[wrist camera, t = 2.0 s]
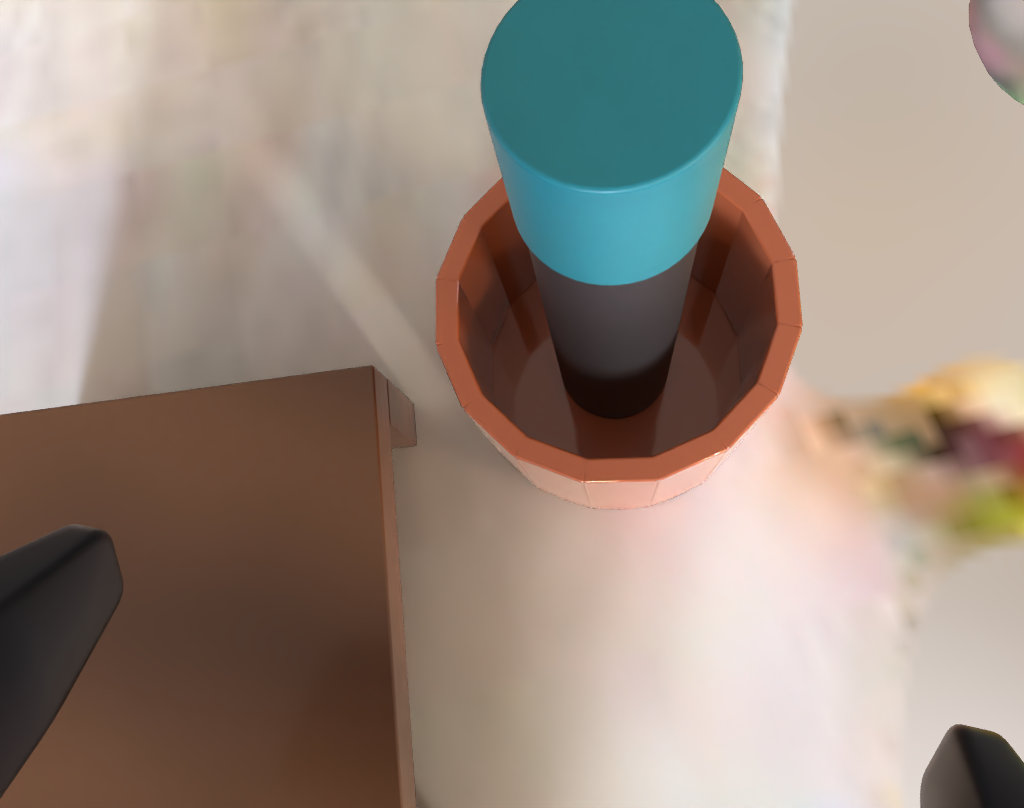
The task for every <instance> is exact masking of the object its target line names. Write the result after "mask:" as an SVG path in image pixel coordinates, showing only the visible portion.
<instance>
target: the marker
mask: <svg viewBox="0 0 1024 808" xmlns="http://www.w3.org/2000/svg"><path fill="white" fill-rule="evenodd" d="M742 81H743V62H742V56H741V50H740V46H739V43H738V40H737V37H736V34H735V32H734V30H733V27H732V25H731V23H730V21H729V19H728V18H727V16H726V15H725V13H724V12H723V10H722V9H721V8H720V6H719V5H718V4H717V3H716V2H715V1H714V0H518V1H517V2H516V3H515V4H514V5H513V7H512V8H511V9H510V10H509V11H508V12H507V13H506V15H505V16H504V18H503V19H502V21H501V22H500V23H499V25H498V26H497V28H496V30H495V32H494V34H493V36H492V38H491V40H490V42H489V45H488V48H487V51H486V54H485V57H484V61H483V66H482V72H481V97H482V104H483V108H484V112H485V116H486V120H487V124H488V127H489V131H490V134H491V138H492V142H493V145H494V149H495V152H496V156H497V160H498V163H499V167H500V171H501V174H502V178H503V181H504V185H505V189H506V192H507V196H508V199H509V203H510V207H511V210H512V214H513V217H514V221H515V223H516V226H517V229H518V231H519V233H520V235H521V237H522V238H523V240H524V242H525V243H526V245H527V246H528V248H529V252H530V256H531V260H532V264H533V268H534V272H535V276H536V279H537V283H538V287H539V291H540V295H541V299H542V303H543V306H544V310H545V314H546V318H547V322H548V326H549V330H550V334H551V337H552V341H553V345H554V349H555V353H556V357H557V361H558V365H559V368H560V372H561V376H562V380H563V383H564V386H565V388H566V390H567V392H568V394H569V395H570V396H571V398H572V399H573V400H574V401H575V402H576V403H577V404H578V405H579V406H580V407H581V408H583V409H584V410H586V411H588V412H589V413H592V414H594V415H597V416H600V417H605V418H624V417H629V416H632V415H635V414H637V413H639V412H641V411H643V410H645V409H646V408H647V407H649V406H650V405H651V404H652V403H653V402H654V401H655V400H656V399H657V398H658V397H659V395H660V393H661V392H662V390H663V388H664V386H665V384H666V380H667V377H668V372H669V368H670V364H671V359H672V355H673V350H674V346H675V341H676V337H677V333H678V328H679V324H680V319H681V315H682V311H683V306H684V302H685V297H686V293H687V288H688V284H689V280H690V275H691V271H692V266H693V262H694V257H695V253H696V249H697V244H698V240H699V238H700V237H701V235H702V234H703V232H704V230H705V228H706V226H707V224H708V221H709V219H710V216H711V212H712V209H713V205H714V201H715V197H716V193H717V189H718V185H719V181H720V177H721V173H722V169H723V165H724V160H725V156H726V152H727V148H728V144H729V140H730V136H731V132H732V128H733V124H734V120H735V116H736V111H737V107H738V103H739V99H740V95H741V88H742Z"/></svg>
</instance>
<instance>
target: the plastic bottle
mask: <svg viewBox="0 0 1024 808" xmlns="http://www.w3.org/2000/svg"><path fill="white" fill-rule="evenodd" d="M969 27H970V31H971V34H972V38H973V42H974V45H975V48H976V50H977V52H978V54H979V56H980V58H981V60H982V62H983V64H984V66H985V68H986V70H987V72H988V73H989V75H990V76H991V77H992V78H993V79H994V81H995V82H996V83H997V84H998V85H999V87H1000V88H1001V89H1003V90H1004V91H1005V92H1006V93H1008V94H1009V95H1010V96H1011V97H1013V98H1014V99H1015V100H1016V101H1018V102H1020V103H1022V104H1024V0H970V3H969Z"/></svg>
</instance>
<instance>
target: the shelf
mask: <svg viewBox="0 0 1024 808" xmlns="http://www.w3.org/2000/svg"><path fill="white" fill-rule="evenodd" d="M416 444H417V440H416V427H415V414H414V404H413V403H412V402H411V401H410V400H409V399H408V398H407V397H406V396H405V395H404V394H403V393H402V392H401V391H400V390H399V389H398V388H396V387H395V386H394V385H393V384H392V383H391V382H390V381H389V380H388V379H386V377H385V376H383V375H382V374H381V373H380V372H379V371H378V370H377V369H376V368H375V367H374V366H372V365H370V366H363V367H355V368H348V369H340V370H333V371H325V372H318V373H310V374H302V375H295V376H287V377H280V378H272V379H265V380H257V381H250V382H242V383H235V384H227V385H220V386H212V387H205V388H197V389H190V390H182V391H175V392H167V393H160V394H152V395H145V396H137V397H130V398H122V399H115V400H107V401H100V402H92V403H85V404H77V405H70V406H62V407H55V408H47V409H40V410H32V411H25V412H17V413H10V414H2V415H0V556H2V555H4V554H6V553H8V552H10V551H13V550H15V549H17V548H19V547H21V546H23V545H26V544H28V543H30V542H32V541H34V540H36V539H39V538H41V537H43V536H45V535H47V534H49V533H52V532H54V531H56V530H58V529H60V528H62V527H65V526H68V525H72V524H79V525H84V526H89V527H93V528H97V529H102V530H104V531H106V532H107V533H108V534H109V535H110V536H111V538H112V540H113V544H114V548H115V551H116V555H117V559H118V562H119V566H120V570H121V574H122V577H123V593H122V597H121V600H120V602H119V604H118V606H117V608H116V610H115V612H114V614H113V615H112V617H111V619H110V621H109V623H108V624H107V626H106V628H105V630H104V632H103V633H102V635H101V637H100V639H99V641H98V642H97V644H96V646H95V648H94V650H93V651H92V653H91V655H90V657H89V659H88V660H87V662H86V664H85V666H84V668H83V670H82V671H81V673H80V675H79V677H78V679H77V680H76V682H75V684H74V686H73V688H72V689H71V691H70V693H69V695H68V697H67V698H66V700H65V702H64V704H63V705H62V707H61V709H60V710H59V712H58V714H57V716H56V717H55V719H54V721H53V722H52V724H51V725H50V727H49V728H48V730H47V731H46V733H45V734H44V736H43V738H42V739H41V741H40V742H39V744H38V745H37V746H36V748H35V749H34V751H33V752H32V754H31V755H30V757H29V758H28V760H27V761H26V762H25V764H24V765H23V767H22V768H21V770H20V771H19V773H18V774H17V775H16V777H15V778H14V780H13V781H12V783H11V784H10V786H9V787H8V789H7V790H6V791H5V793H4V794H3V796H2V797H1V799H0V808H416V796H415V782H414V767H413V753H412V739H411V724H410V710H409V695H408V681H407V667H406V652H405V638H404V623H403V609H402V595H401V580H400V566H399V552H398V537H397V523H396V508H395V494H394V480H393V465H392V451H391V449H393V448H401V447H409V446H415V445H416Z"/></svg>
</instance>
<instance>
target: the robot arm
mask: <svg viewBox="0 0 1024 808" xmlns="http://www.w3.org/2000/svg"><path fill="white" fill-rule="evenodd" d="M122 593H123V577H122V574H121V570H120V566H119V562H118V559H117V555H116V551H115V548H114V544H113V540H112V538H111V536H110V535H109V534H108V533H107V532H106V531H104V530H102V529H97V528H93V527H89V526H84V525H79V524H72V525H68V526H65V527H62V528H60V529H58V530H56V531H54V532H52V533H49V534H47V535H45V536H43V537H41V538H39V539H36V540H34V541H32V542H30V543H28V544H26V545H23V546H21V547H19V548H17V549H15V550H13V551H10V552H8V553H6V554H4V555H2V556H0V799H1V797H2V796H3V794H4V793H5V791H6V790H7V789H8V787H9V786H10V784H11V783H12V781H13V780H14V778H15V777H16V775H17V774H18V773H19V771H20V770H21V768H22V767H23V765H24V764H25V762H26V761H27V760H28V758H29V757H30V755H31V754H32V752H33V751H34V749H35V748H36V746H37V745H38V744H39V742H40V741H41V739H42V738H43V736H44V734H45V733H46V731H47V730H48V728H49V727H50V725H51V724H52V722H53V721H54V719H55V717H56V716H57V714H58V712H59V710H60V709H61V707H62V705H63V704H64V702H65V700H66V698H67V697H68V695H69V693H70V691H71V689H72V688H73V686H74V684H75V682H76V680H77V679H78V677H79V675H80V673H81V671H82V670H83V668H84V666H85V664H86V662H87V660H88V659H89V657H90V655H91V653H92V651H93V650H94V648H95V646H96V644H97V642H98V641H99V639H100V637H101V635H102V633H103V632H104V630H105V628H106V626H107V624H108V623H109V621H110V619H111V617H112V615H113V614H114V612H115V610H116V608H117V606H118V604H119V602H120V600H121V597H122ZM920 807H921V808H1024V762H1023V761H1022V760H1021V759H1020V757H1019V756H1018V755H1017V753H1016V752H1015V751H1014V750H1013V748H1012V747H1011V746H1010V744H1009V743H1008V742H1007V741H1006V740H1005V739H1004V738H1003V737H1002V736H1000V735H999V734H997V733H995V732H992V731H988V730H983V729H979V728H975V727H970V726H966V725H961V724H960V725H959V724H958V725H957V724H956V725H954V726H952V727H951V728H950V729H949V730H948V731H947V733H946V734H945V736H944V738H943V739H942V741H941V743H940V745H939V747H938V748H937V750H936V752H935V754H934V756H933V757H932V759H931V761H930V763H929V765H928V766H927V768H926V770H925V772H924V775H923V778H922V783H921V791H920Z"/></svg>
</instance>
